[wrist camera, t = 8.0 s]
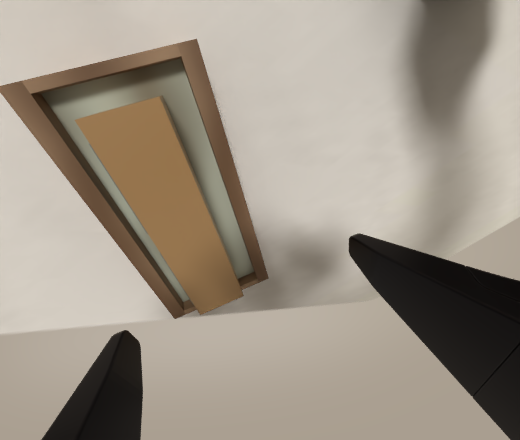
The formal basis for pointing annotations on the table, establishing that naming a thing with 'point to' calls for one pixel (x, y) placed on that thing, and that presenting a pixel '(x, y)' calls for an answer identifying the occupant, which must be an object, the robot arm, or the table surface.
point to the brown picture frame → (190, 132)
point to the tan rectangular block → (164, 196)
